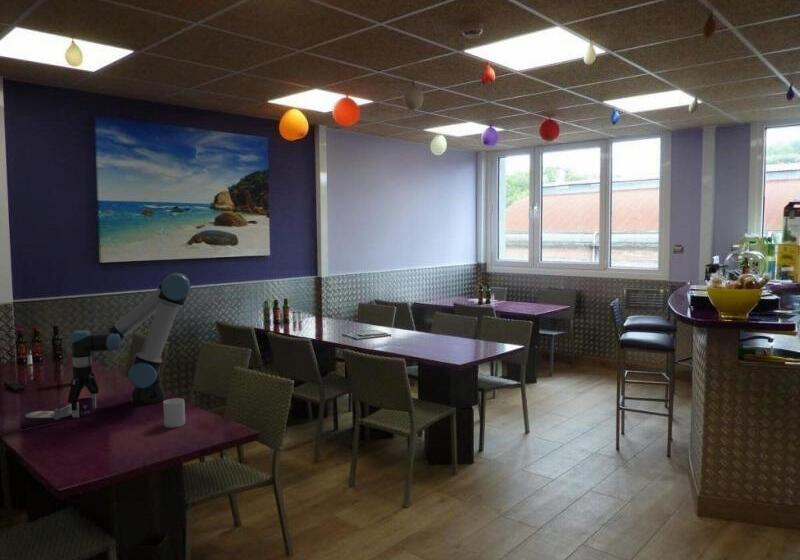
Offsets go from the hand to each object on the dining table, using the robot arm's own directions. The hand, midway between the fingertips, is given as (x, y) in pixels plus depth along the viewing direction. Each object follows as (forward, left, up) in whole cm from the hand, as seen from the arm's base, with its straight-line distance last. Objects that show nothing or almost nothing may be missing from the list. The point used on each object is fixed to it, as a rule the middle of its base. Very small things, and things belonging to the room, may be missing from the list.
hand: (84, 412), depth 266 cm
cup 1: (0, 0, -1) cm, 1 cm away
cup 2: (-46, +13, -1) cm, 48 cm away
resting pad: (+15, +2, 0) cm, 15 cm away
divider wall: (+7, 0, 0) cm, 8 cm away
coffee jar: (+33, -54, -1) cm, 63 cm away
